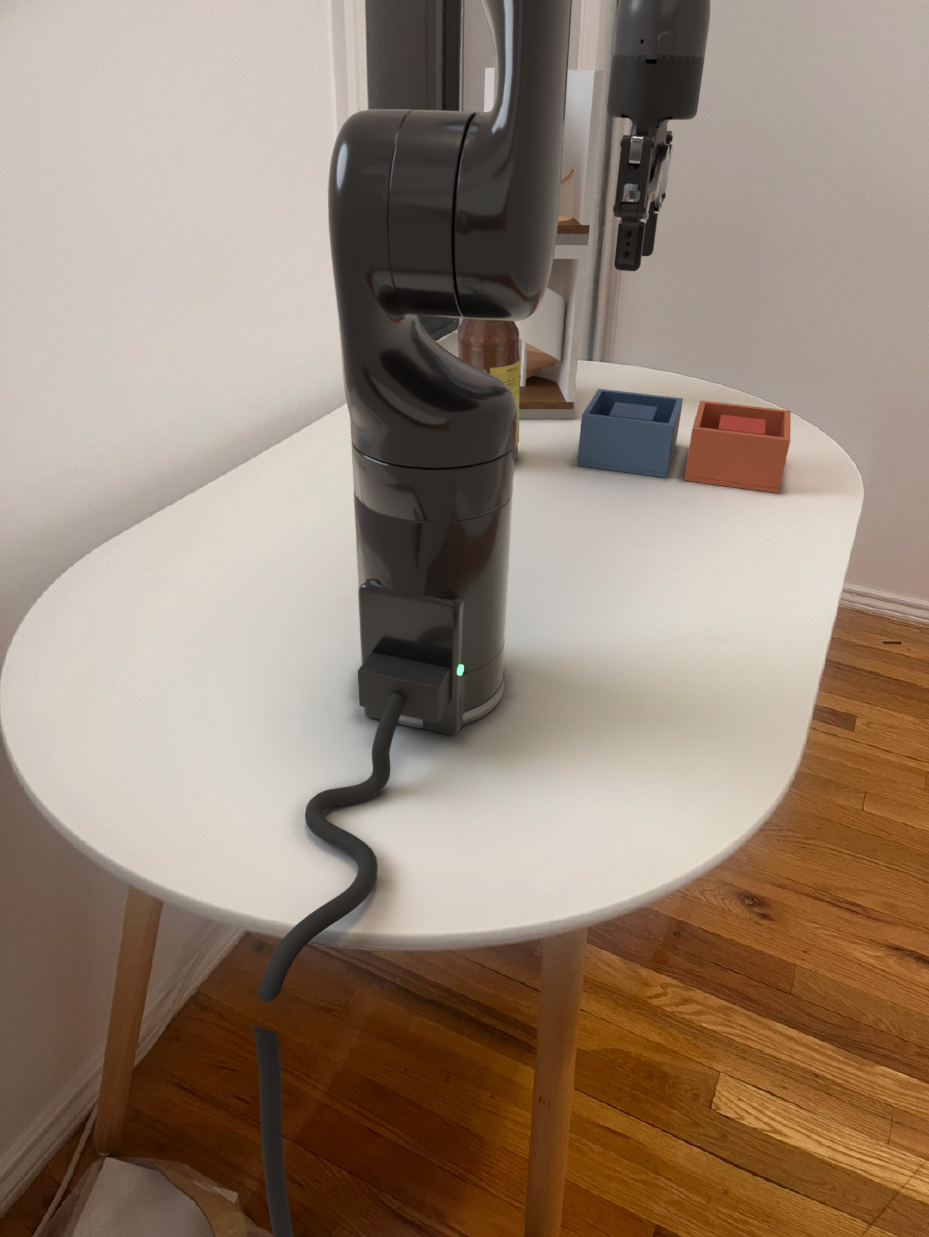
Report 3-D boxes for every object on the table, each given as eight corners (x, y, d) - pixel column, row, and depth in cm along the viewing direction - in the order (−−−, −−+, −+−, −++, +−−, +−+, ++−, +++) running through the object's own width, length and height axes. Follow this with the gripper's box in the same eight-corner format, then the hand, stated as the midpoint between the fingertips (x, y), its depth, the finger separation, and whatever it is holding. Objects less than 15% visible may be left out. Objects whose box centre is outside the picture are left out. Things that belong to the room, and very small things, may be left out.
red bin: (778, 493, 87) (790, 440, 84) (683, 480, 89) (692, 428, 86) (779, 460, 94) (790, 410, 92) (692, 449, 97) (700, 400, 94)
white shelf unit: (476, 388, 113) (485, 67, 95) (558, 388, 114) (583, 70, 95) (483, 418, 104) (494, 68, 85) (572, 418, 104) (603, 71, 86)
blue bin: (665, 478, 90) (673, 426, 87) (576, 465, 92) (581, 414, 89) (675, 447, 97) (683, 398, 94) (593, 436, 99) (598, 388, 96)
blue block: (646, 461, 92) (652, 420, 90) (604, 456, 93) (608, 415, 91) (652, 447, 96) (657, 406, 93) (610, 441, 97) (615, 401, 94)
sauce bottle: (519, 449, 96) (530, 254, 85) (516, 471, 90) (527, 266, 80) (459, 446, 96) (462, 251, 85) (452, 468, 91) (455, 263, 80)
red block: (755, 476, 89) (765, 434, 87) (710, 470, 90) (718, 428, 88) (757, 460, 93) (765, 419, 90) (713, 455, 94) (721, 414, 92)
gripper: (626, 55, 79) (606, 248, 87) (597, 47, 67) (578, 272, 76) (711, 56, 77) (683, 254, 86) (697, 49, 66) (666, 279, 74)
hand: (634, 262), depth 81 cm, fingers open, 8 cm apart
